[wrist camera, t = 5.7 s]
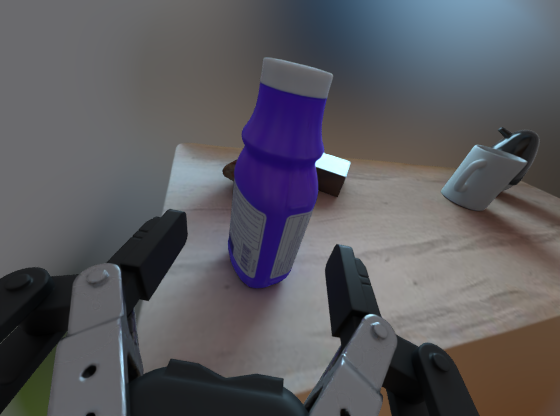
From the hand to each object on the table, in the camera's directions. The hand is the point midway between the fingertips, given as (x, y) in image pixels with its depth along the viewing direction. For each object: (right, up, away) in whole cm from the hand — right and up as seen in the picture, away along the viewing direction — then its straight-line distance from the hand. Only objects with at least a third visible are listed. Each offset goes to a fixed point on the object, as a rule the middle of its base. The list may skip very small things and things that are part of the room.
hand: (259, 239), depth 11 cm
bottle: (-1, -4, +11) cm, 12 cm away
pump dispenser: (+56, +7, +46) cm, 73 cm away
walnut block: (+9, +7, +29) cm, 32 cm away
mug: (+40, +3, +35) cm, 53 cm away
